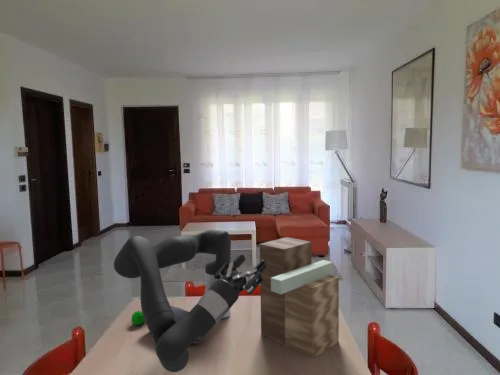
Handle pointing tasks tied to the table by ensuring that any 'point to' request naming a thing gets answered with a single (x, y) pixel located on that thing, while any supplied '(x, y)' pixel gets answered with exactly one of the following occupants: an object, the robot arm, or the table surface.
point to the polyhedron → (137, 318)
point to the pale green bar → (301, 276)
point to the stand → (298, 301)
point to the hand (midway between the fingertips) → (253, 259)
